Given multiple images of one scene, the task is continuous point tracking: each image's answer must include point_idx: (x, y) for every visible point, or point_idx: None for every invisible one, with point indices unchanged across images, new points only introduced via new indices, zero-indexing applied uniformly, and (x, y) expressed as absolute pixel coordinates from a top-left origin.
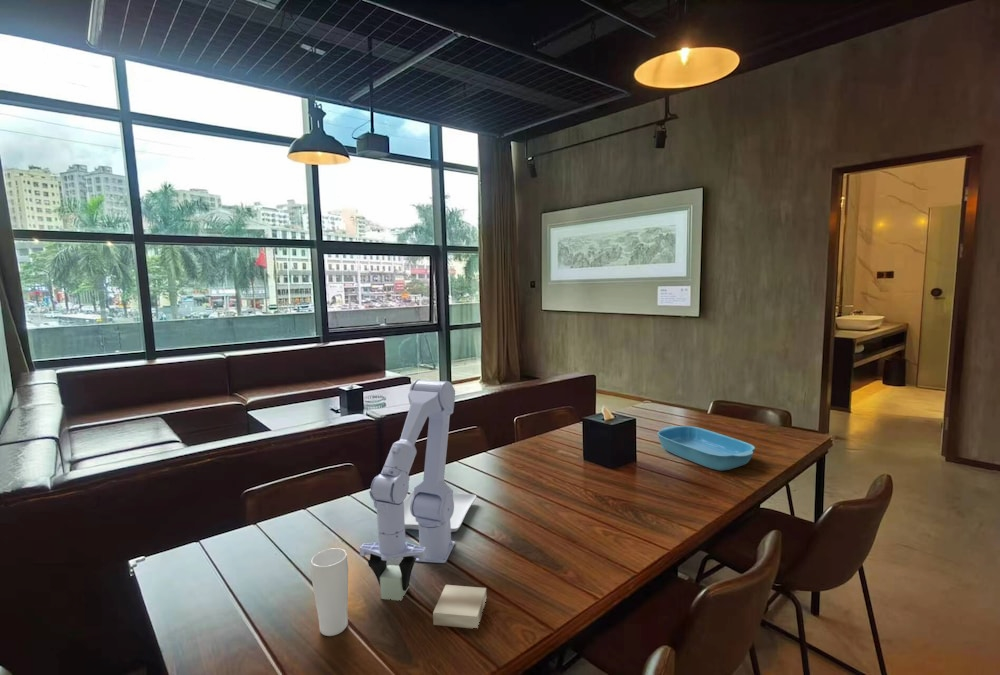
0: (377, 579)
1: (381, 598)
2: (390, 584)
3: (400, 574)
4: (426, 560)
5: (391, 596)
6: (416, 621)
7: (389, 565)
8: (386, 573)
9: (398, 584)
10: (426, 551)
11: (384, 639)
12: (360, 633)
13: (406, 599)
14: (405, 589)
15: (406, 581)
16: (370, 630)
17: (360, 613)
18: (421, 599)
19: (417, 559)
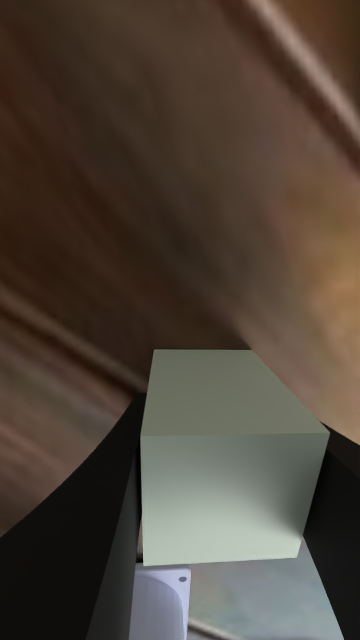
0: (326, 426)
1: (250, 351)
2: (220, 396)
3: (160, 484)
4: (137, 571)
5: (203, 356)
6: (5, 205)
7: (285, 554)
8: (284, 479)
9: (160, 399)
10: (133, 632)
11: (121, 16)
12: (281, 68)
13: (132, 360)
14: (135, 396)
15: (110, 432)
16: (232, 102)
17: (321, 240)
18: (61, 367)
19: (176, 570)
